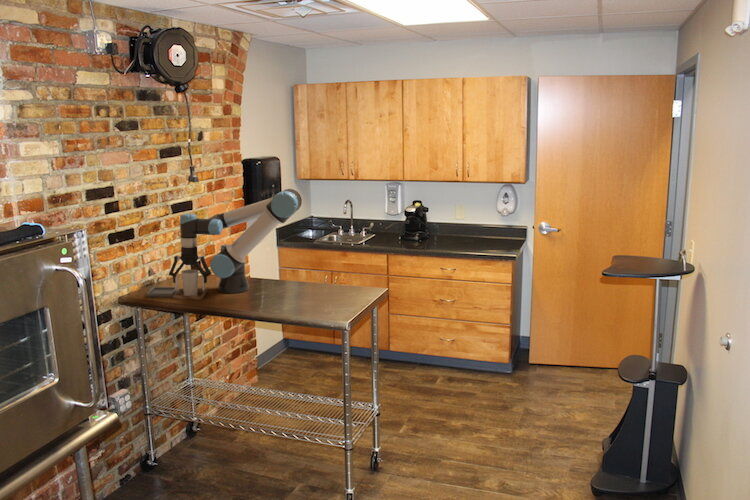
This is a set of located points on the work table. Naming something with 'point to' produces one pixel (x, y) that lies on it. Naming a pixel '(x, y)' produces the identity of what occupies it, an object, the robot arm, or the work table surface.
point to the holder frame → (189, 296)
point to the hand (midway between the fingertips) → (190, 289)
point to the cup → (190, 282)
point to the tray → (161, 292)
